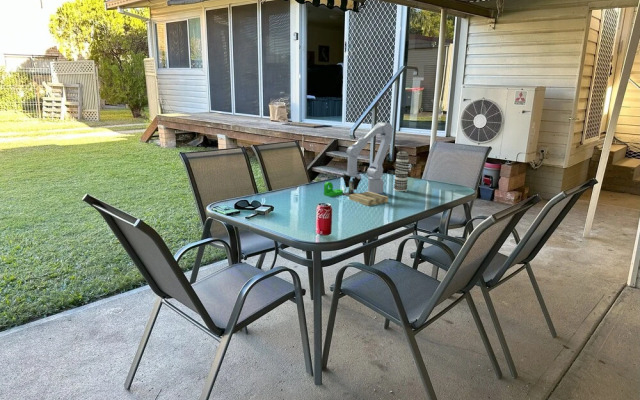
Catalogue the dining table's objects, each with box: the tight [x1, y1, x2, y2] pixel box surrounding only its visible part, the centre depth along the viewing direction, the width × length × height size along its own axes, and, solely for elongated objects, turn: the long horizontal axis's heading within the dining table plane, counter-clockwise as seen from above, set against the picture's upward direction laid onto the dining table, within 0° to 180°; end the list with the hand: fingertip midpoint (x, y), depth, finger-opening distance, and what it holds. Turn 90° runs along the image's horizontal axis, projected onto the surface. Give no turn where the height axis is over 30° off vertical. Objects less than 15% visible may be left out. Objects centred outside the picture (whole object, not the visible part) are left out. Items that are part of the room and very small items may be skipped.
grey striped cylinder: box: [393, 150, 410, 192], centre depth 277 cm, size 9×9×25 cm
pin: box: [348, 180, 355, 195], centre depth 264 cm, size 3×3×8 cm
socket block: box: [348, 191, 389, 206], centre depth 250 cm, size 16×16×3 cm
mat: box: [342, 191, 357, 198], centre depth 265 cm, size 10×10×1 cm
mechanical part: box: [323, 181, 344, 198], centre depth 262 cm, size 12×6×8 cm, turn 131°
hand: (351, 188), depth 264 cm, fingers open, 7 cm apart
